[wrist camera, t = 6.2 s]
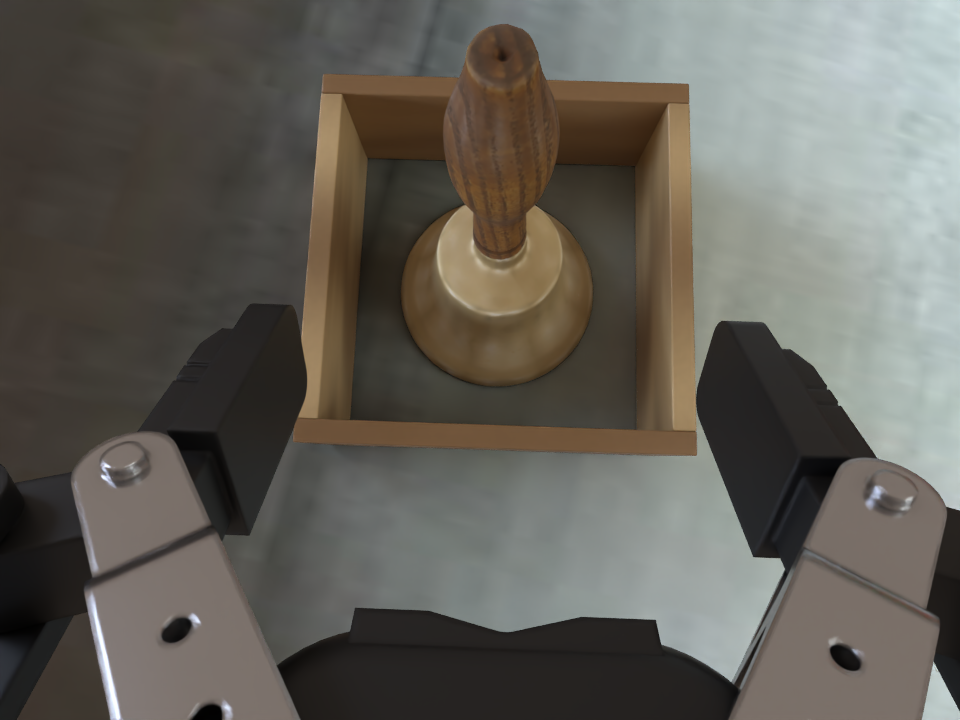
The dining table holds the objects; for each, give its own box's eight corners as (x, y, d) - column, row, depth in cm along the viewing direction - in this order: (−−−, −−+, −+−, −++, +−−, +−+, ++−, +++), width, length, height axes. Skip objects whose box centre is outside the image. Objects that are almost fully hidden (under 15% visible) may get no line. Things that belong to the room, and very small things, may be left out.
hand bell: (515, 426, 25) (568, 378, 10) (362, 309, 26) (180, 88, 10) (630, 274, 26) (847, 6, 11) (479, 166, 27) (473, -232, 11)
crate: (655, 455, 25) (697, 455, 20) (329, 444, 25) (292, 441, 20) (652, 150, 27) (689, 83, 22) (351, 141, 27) (322, 72, 23)
